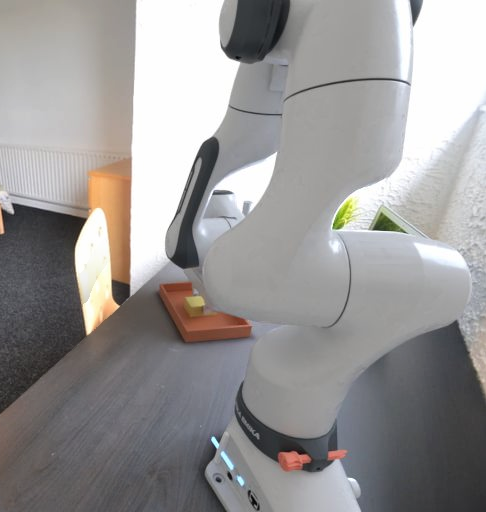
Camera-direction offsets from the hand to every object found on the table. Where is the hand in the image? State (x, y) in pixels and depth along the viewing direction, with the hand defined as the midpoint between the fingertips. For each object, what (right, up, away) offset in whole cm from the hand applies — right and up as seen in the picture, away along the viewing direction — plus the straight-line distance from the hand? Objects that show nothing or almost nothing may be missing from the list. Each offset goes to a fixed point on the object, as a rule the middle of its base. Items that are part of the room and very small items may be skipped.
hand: (201, 306), depth 92 cm
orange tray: (0, -2, +1) cm, 2 cm away
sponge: (0, -1, +1) cm, 1 cm away
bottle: (+13, +4, +12) cm, 18 cm away
